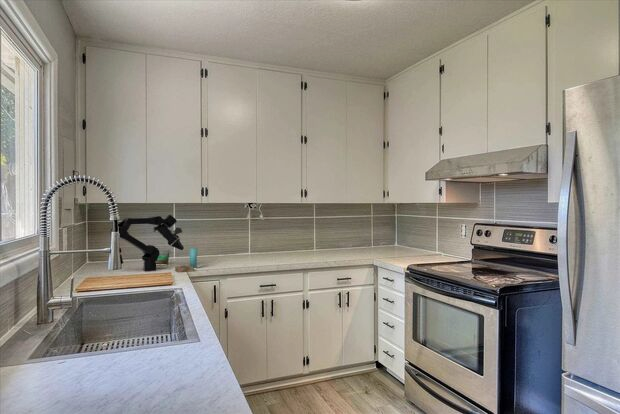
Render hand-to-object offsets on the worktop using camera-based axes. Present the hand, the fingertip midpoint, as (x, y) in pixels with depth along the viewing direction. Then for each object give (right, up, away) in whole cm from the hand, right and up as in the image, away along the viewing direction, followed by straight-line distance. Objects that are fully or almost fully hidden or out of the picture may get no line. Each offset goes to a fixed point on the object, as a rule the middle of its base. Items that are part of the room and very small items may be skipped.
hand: (183, 249), depth 247 cm
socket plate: (+4, -12, -10) cm, 16 cm away
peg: (+6, -13, +1) cm, 14 cm away
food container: (-21, -13, +16) cm, 30 cm away
